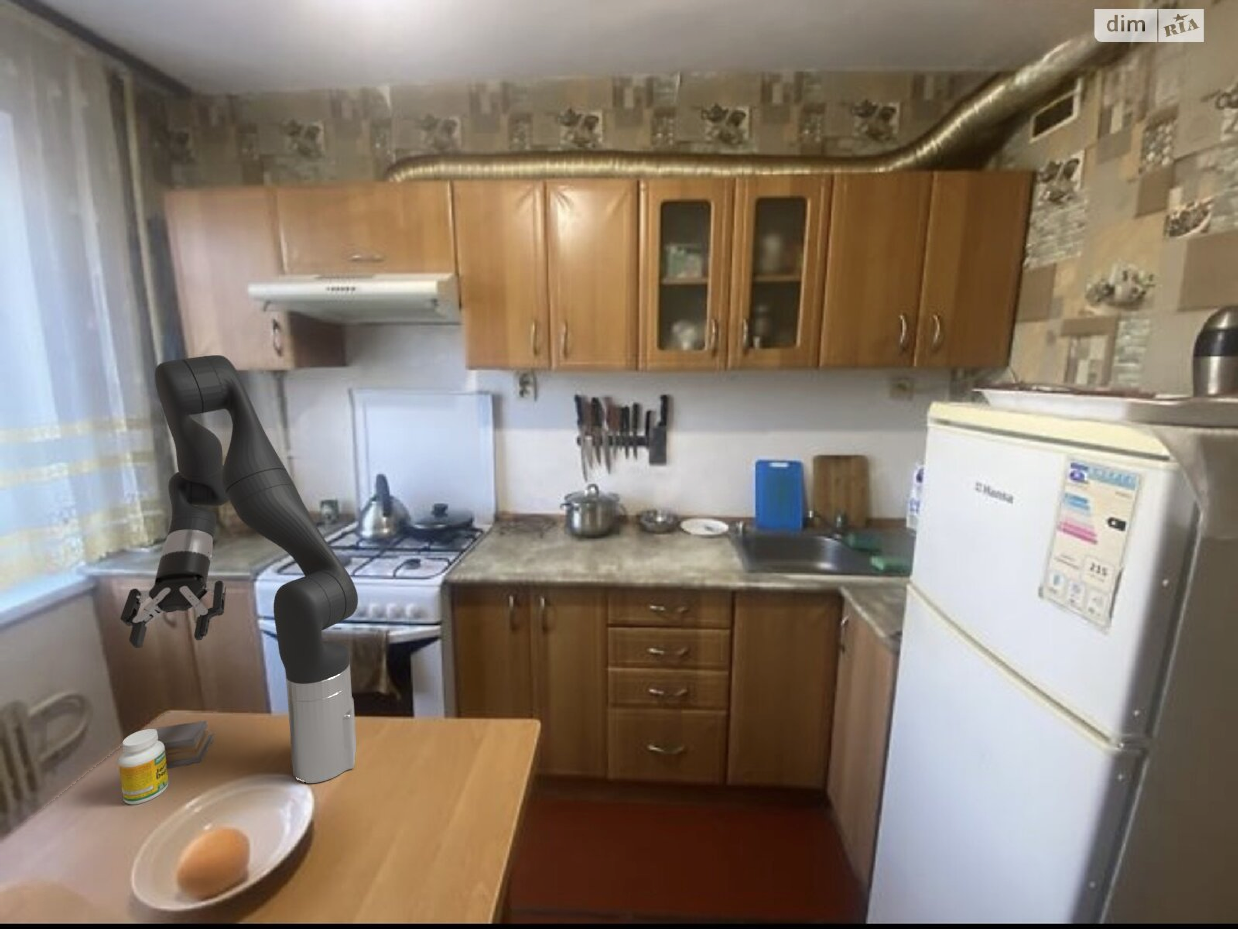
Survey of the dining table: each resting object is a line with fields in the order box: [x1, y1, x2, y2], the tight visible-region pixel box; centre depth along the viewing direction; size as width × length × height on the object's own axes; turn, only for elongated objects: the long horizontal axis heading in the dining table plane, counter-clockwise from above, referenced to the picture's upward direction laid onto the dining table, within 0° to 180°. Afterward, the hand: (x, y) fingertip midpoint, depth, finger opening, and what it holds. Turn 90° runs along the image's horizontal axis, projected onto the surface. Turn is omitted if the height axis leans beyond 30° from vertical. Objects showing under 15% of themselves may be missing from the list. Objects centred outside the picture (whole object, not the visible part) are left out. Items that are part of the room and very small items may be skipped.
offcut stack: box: [155, 720, 215, 769], centre depth 92 cm, size 9×7×4 cm
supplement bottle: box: [118, 728, 169, 805], centre depth 83 cm, size 5×5×10 cm
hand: (168, 642), depth 92 cm, fingers open, 8 cm apart
